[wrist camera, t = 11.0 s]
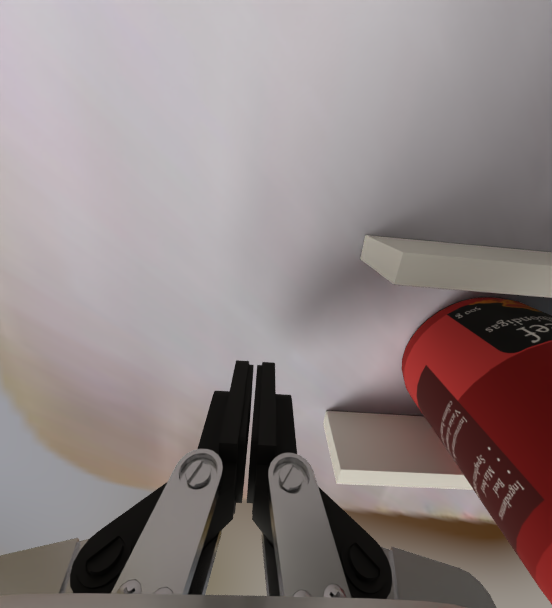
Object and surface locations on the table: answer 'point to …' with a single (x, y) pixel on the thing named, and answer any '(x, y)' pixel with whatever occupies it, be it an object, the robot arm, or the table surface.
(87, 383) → the table surface
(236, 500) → the robot arm
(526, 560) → the canned food
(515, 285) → the lane
